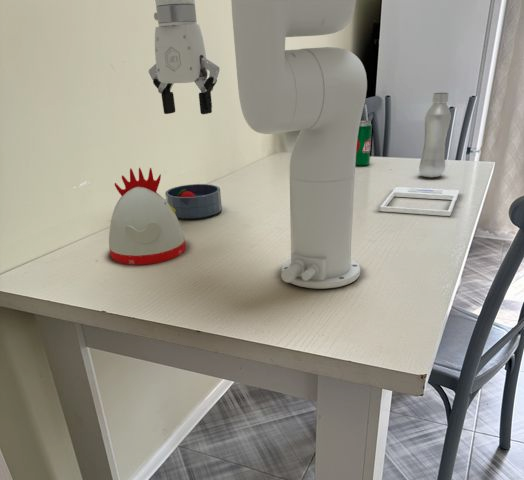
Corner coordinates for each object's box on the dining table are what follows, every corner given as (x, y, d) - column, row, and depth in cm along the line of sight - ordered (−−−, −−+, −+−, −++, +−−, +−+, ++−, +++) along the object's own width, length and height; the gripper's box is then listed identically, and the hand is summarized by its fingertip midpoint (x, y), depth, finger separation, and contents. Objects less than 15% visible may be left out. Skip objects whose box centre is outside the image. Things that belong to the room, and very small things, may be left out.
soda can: (365, 167, 150) (367, 122, 143) (349, 165, 152) (351, 122, 146) (372, 163, 153) (374, 120, 147) (356, 162, 156) (358, 119, 149)
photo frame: (459, 189, 119) (450, 210, 105) (458, 194, 119) (450, 216, 105) (396, 185, 124) (379, 205, 110) (395, 190, 125) (379, 211, 111)
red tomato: (191, 201, 113) (179, 188, 114) (184, 214, 116) (172, 201, 116) (202, 198, 116) (190, 185, 117) (195, 211, 119) (183, 198, 119)
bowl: (201, 223, 109) (198, 199, 107) (157, 217, 115) (154, 194, 112) (232, 208, 118) (230, 186, 116) (190, 203, 124) (187, 182, 121)
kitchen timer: (186, 260, 91) (175, 173, 83) (108, 268, 89) (89, 180, 82) (184, 235, 103) (174, 157, 95) (114, 242, 101) (98, 163, 93)
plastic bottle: (446, 175, 137) (457, 92, 126) (439, 180, 132) (450, 94, 121) (422, 173, 140) (431, 91, 129) (414, 178, 135) (423, 94, 124)
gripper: (130, 20, 101) (145, 115, 109) (201, 13, 93) (211, 116, 102) (155, 21, 106) (167, 111, 115) (224, 14, 98) (231, 111, 107)
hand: (187, 113), depth 108 cm, fingers open, 9 cm apart
